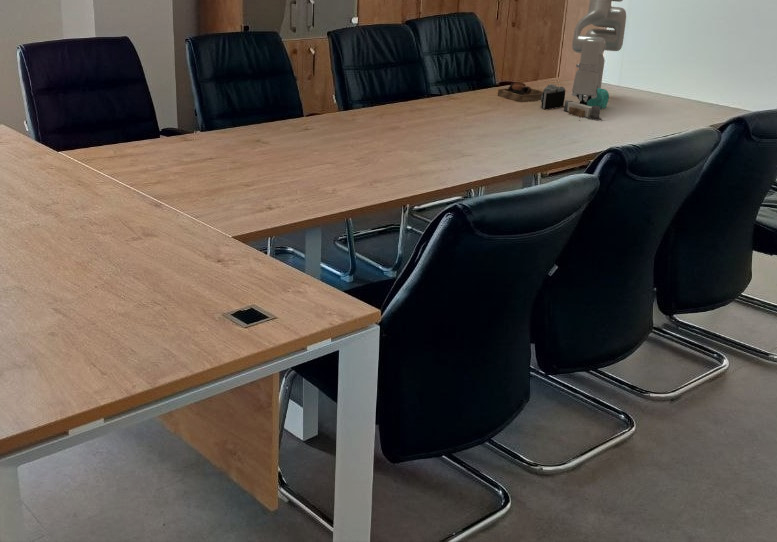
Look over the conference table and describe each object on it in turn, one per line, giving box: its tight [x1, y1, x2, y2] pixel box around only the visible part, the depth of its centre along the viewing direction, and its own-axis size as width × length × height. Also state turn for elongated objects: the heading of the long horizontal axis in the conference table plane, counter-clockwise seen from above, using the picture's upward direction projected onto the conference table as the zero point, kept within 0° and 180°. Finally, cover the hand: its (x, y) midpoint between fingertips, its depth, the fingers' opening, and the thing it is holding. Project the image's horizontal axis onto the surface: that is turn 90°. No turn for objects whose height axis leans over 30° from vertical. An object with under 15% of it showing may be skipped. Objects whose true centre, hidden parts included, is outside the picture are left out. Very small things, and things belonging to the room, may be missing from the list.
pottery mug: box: [508, 81, 532, 95], centre depth 423 cm, size 12×10×8 cm
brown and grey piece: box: [568, 106, 603, 121], centre depth 391 cm, size 15×7×5 cm, turn 33°
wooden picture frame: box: [497, 87, 543, 103], centre depth 425 cm, size 16×18×3 cm
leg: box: [563, 99, 592, 118], centre depth 396 cm, size 16×4×4 cm, turn 32°
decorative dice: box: [587, 88, 610, 110], centre depth 412 cm, size 8×8×8 cm
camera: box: [540, 83, 567, 110], centre depth 407 cm, size 15×7×10 cm, turn 136°
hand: (582, 110), depth 399 cm, fingers closed
